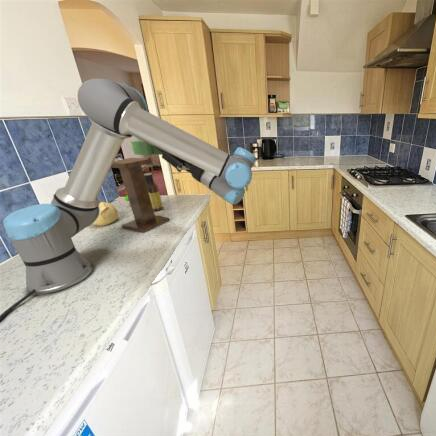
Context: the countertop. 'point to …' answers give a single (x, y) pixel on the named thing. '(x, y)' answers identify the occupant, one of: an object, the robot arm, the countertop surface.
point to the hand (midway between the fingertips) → (159, 141)
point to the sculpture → (106, 214)
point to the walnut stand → (138, 194)
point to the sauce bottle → (153, 192)
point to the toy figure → (144, 148)
